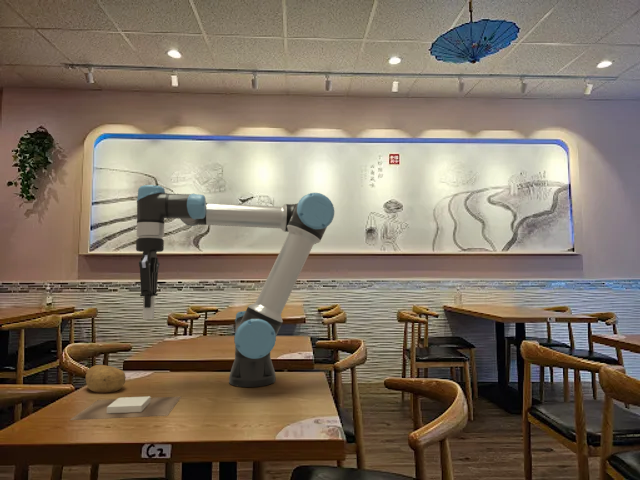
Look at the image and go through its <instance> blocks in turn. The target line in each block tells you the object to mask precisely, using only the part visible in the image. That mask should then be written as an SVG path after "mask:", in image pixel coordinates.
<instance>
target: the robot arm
mask: <svg viewBox="0 0 640 480" xmlns="http://www.w3.org/2000/svg"><path fill="white" fill-rule="evenodd" d="M334 217H335V207H334V204H333V202H332V201H331V199H330V198H329V197H328V196H327V195H325V194H322V193H320V192H310V193H308V194H305V195H303V196H302V197H301V198H299V201H298V203H292V204H291V203H290V204H289V203H285V204H283V205H282V206H274V205H259V204H258V205H256V204H237V203H221V202H220V203H217V202H207V201H206V197H205V195H204V194H199V193H198V194H197V193H167V192H166V191H165V188H164V187H163V186H161V185H153V184H145V185H141V186H140V187H138V190H137V200H136V226H135V227H134V230H135V231H136V237H138V238H136V240H135V250H136V252H140V253H142V256H141V257H140V260H139V261H138V266H139V276H140V277H139V278H140V279H139V280H140V281H139V282H140V294H139V296H140V297H142V298H143V299H142V319H143V320H154V319H155V297H158V293H157V291H158V290H157V289H158V279H159V278H158V276H159V270H160V269H159V268H160V262H159V257H158V255H157V253H158V252H159V253H161V252H163V251H164V249H165V248H164V245H165V243H164V242H165V241H164V239H163V238H164V237H165V219H177V220H180V221H181V222H182V223H184V225H187V226H189V227H196V226H198V225H199V226H223V227H241V228H242V227H243V228H261V229H263V228H267V229H281V230H282V232H284V233H285V232H287V233H288V234H287V237H286V239H285V241H284V243H283V245H282V247H281V249H280V251H279V253H278V254H277V257H276V259H275V261H274V264H273V266H272V268H271V269H270V272H269V274H268V276H267V277H266V279H265V282H264V284H263V286H262V289H261V290H260V293H259V294H258V297H257V298H256V301H255V302H254V303H252V304H249V305H248V306H247V307H246V309H245V310H242V311H238V312H237V313H236V314H235V320H234V322H235V332H234V338H233V340H234V346H235V347H234V361H233V363H232V366H231V369H230V373H229V377H228V380H229V381H228V383H229V384H230V385H232V386H235V387H241V388H257V387H263V386H269V385H271V384H274V383H275V382H276V371H275V368H274V365H273V361H272V357H271V351H273V349H274V347H275V346H276V341H277V335H278V333H279V331H280V329H281V327H282V325H283V323H284V321H283V318H282V313H283V311H284V309H285V307H286V304H287V302H288V300H289V298H290V296H291V293H292V291H293V290H294V287H295V285H296V283H297V281H298V278H299V277H300V274H301V273H302V270H303V268H304V265H305V263H306V261H307V260H308V257H309V255H310V253H311V251H312V249H313V247H314V245H317V244H319V243H321V241H322V238H323V236H324V235H325V232H326V230H327V228H328V226H330V225H331V223H332V222H333V220H334Z"/></svg>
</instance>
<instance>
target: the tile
mask: <svg viewBox="0 0 640 480" xmlns="http://www.w3.org/2000/svg"><path fill="white" fill-rule="evenodd" d="M150 398H152V397H151V396H150V395H148V396H131V397H130V396H129V397H128V396H125V397H123V396H122V397H118V398H115V399H116V400H115V401H114V402H113V403H111V404H110V405H109V406H108V407H107V413H129V412H142V411H143V409H144V408H145V407H146V406H147V405H148V404H149V403H150Z"/></svg>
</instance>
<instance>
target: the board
mask: <svg viewBox="0 0 640 480" xmlns="http://www.w3.org/2000/svg"><path fill="white" fill-rule="evenodd" d="M181 398H182V396H165V397H164V396H163V397H151V398H150V403H149V404H148V405H147V406H146V407H145V408H144V409H143V411H142V412H129V413H107V407H108V406H109V405H110V404H111V403H113V402H114V401H115V400H116V399H117V398H112V399H110V398H109V399H108V398H107V399H97V400H95V401H94V402H92V403H91V404H90V405H88V406H87V407H86V408H84V409H83V410H82V411H79V412H78V413H77V414H76V415H74V416H73V417H71V418H70V419H69V421H79V420H80V421H81V420H83V421H84V420H100V419H102V420H103V419H105V420H107V419H121V418H122V419H126V418H144V417H145V418H146V417H147V418H148V417H167V416H169V415H170V413H171V412H172V410H173V409H174V407H175V406H176V405H177V403H178V402H179V401H180V399H181Z"/></svg>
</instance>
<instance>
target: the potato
mask: <svg viewBox="0 0 640 480" xmlns="http://www.w3.org/2000/svg"><path fill="white" fill-rule="evenodd" d="M85 383H86V386H87V389H88V390H90V391H92V392H94V393H107V394H108V393H115V392H117V391H119V390H121V389H122V388H123V387H124V385H125V383H126V373H125V372H124V370H121V369H120V368H118V367H115V366H109V365H106V364H105V365H104V364H96V365H93V366H91V367H90V368H89V369H88V370H87V371H86V374H85Z"/></svg>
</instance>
